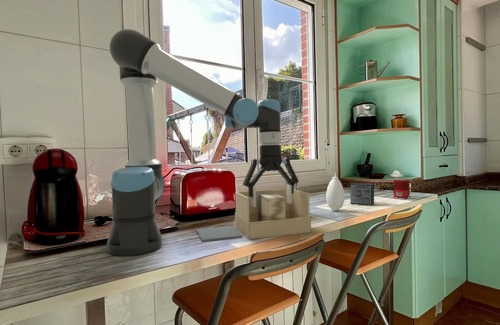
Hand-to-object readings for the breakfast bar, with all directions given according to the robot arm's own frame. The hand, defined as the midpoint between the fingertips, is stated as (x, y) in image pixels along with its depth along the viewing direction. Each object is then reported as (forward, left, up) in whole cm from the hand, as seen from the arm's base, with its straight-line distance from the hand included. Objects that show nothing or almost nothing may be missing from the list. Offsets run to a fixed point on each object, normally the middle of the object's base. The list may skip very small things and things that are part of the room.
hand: (271, 204), depth 106 cm
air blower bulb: (+39, +19, -9) cm, 44 cm away
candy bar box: (+17, +18, -9) cm, 26 cm away
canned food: (+93, +35, -9) cm, 99 cm away
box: (0, 0, -9) cm, 9 cm away
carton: (0, 0, -9) cm, 9 cm away
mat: (-19, +1, -9) cm, 21 cm away
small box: (+61, +28, -9) cm, 67 cm away
